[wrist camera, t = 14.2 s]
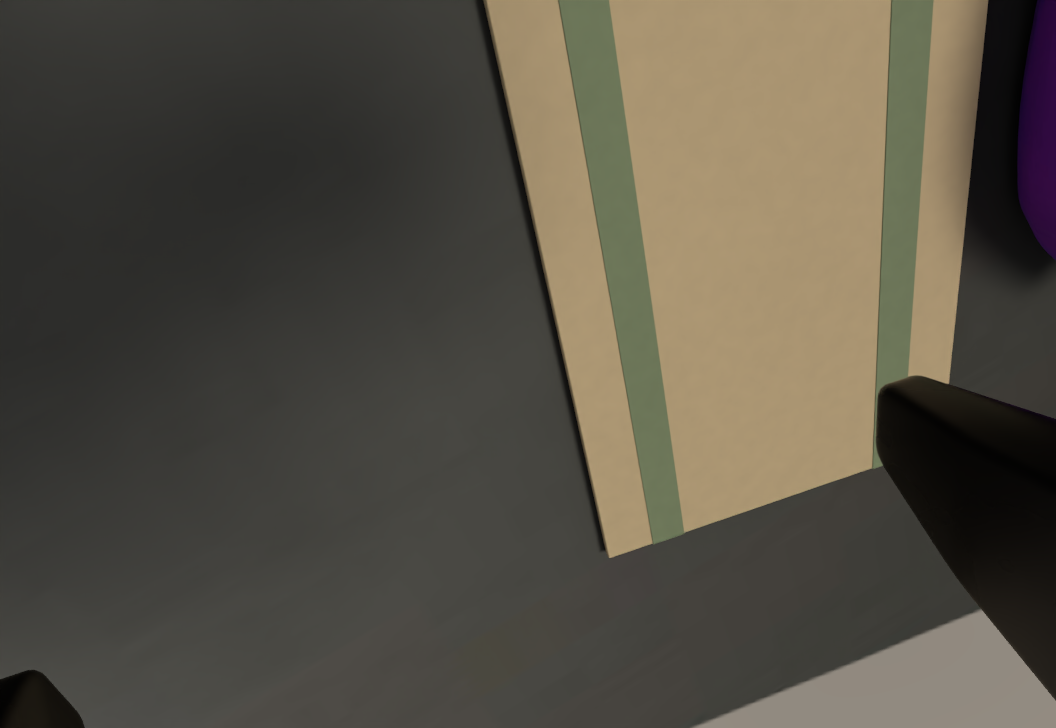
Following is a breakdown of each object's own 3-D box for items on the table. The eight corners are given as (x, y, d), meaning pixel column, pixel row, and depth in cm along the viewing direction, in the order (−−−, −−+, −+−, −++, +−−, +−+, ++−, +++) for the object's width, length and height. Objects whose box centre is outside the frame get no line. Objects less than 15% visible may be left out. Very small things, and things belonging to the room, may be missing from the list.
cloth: (425, -256, 14) (429, -258, 14) (1018, -402, 15) (1032, -407, 15) (606, 551, 25) (609, 559, 25) (936, 438, 26) (943, 444, 26)
